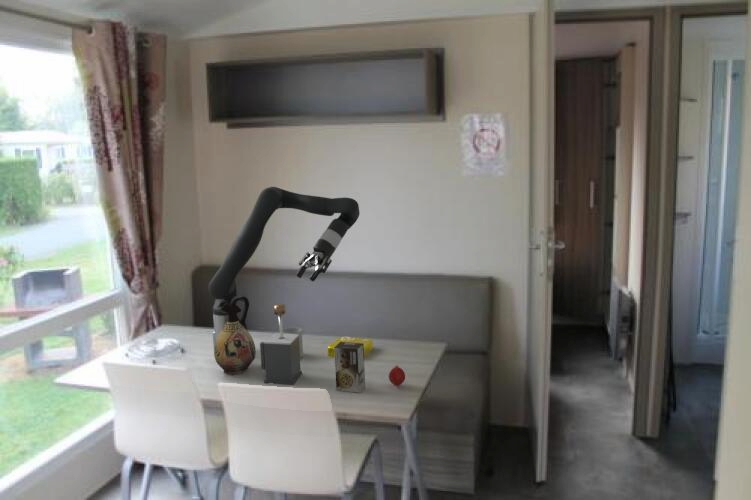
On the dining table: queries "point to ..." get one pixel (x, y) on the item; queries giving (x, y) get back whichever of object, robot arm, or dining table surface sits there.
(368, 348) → the element tile
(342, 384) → the coffee box
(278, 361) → the gray rectangular box
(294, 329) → the mug
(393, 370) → the onion
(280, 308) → the plunger
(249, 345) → the ceramic jug
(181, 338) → the dining table surface
